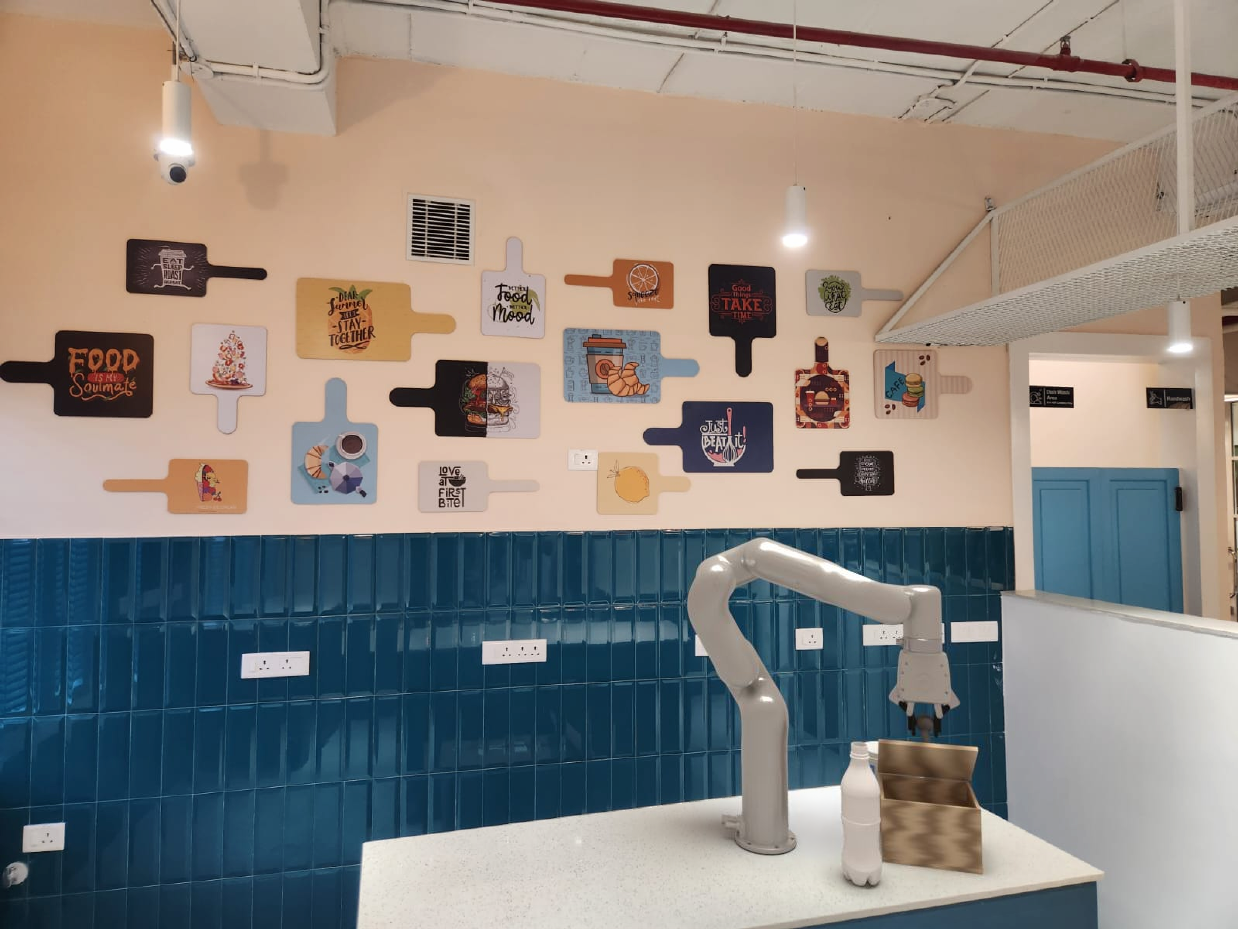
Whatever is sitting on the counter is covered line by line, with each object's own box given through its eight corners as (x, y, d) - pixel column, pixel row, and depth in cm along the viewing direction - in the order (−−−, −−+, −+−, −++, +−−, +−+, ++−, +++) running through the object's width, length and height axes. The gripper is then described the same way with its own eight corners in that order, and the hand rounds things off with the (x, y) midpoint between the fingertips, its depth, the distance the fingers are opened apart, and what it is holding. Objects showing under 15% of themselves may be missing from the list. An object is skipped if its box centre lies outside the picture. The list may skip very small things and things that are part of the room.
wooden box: (882, 861, 149) (881, 799, 149) (879, 829, 163) (878, 773, 164) (982, 874, 144) (981, 810, 144) (970, 840, 158) (969, 781, 159)
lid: (878, 742, 153) (877, 706, 158) (877, 772, 164) (876, 737, 169) (978, 751, 148) (973, 713, 153) (970, 781, 158) (966, 745, 163)
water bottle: (884, 891, 138) (881, 751, 139) (843, 887, 139) (841, 749, 140) (879, 872, 145) (876, 739, 146) (840, 868, 146) (838, 737, 147)
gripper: (880, 646, 156) (882, 736, 155) (968, 651, 151) (970, 744, 150) (880, 640, 163) (881, 726, 163) (964, 644, 158) (966, 733, 157)
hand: (924, 734), depth 156 cm, fingers closed on lid, 3 cm apart
